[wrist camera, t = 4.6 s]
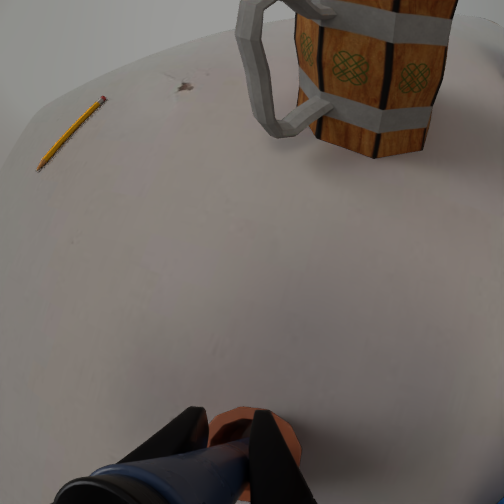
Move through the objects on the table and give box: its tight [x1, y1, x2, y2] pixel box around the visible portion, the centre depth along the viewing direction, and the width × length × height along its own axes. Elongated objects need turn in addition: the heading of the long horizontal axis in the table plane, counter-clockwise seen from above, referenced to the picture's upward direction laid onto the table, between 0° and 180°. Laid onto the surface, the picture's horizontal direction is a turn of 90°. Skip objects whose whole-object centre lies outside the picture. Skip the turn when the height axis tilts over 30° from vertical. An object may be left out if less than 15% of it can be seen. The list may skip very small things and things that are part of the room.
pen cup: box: [207, 406, 302, 502], centre depth 13 cm, size 4×4×5 cm
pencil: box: [36, 96, 106, 171], centre depth 32 cm, size 1×13×1 cm, turn 158°
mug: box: [235, 0, 458, 159], centre depth 20 cm, size 20×14×15 cm
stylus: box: [53, 437, 250, 504], centre depth 7 cm, size 1×1×13 cm
